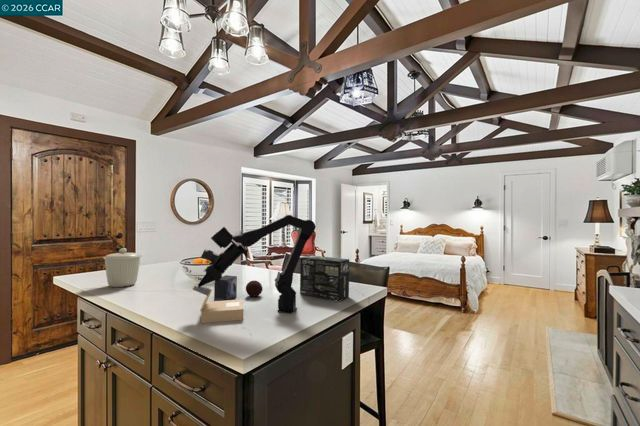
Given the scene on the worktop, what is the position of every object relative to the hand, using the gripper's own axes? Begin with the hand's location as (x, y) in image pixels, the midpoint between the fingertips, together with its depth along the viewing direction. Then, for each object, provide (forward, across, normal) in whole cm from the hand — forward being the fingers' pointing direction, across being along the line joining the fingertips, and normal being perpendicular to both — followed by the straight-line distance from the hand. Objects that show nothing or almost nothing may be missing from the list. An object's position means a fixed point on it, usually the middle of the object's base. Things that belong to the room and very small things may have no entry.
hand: (198, 285), depth 116 cm
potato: (-7, -27, +24) cm, 37 cm away
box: (-31, -19, +48) cm, 60 cm away
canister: (+43, -69, -25) cm, 85 cm away
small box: (+2, -24, +15) cm, 28 cm away
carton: (+2, 0, +15) cm, 15 cm away
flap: (+2, 0, +6) cm, 6 cm away
